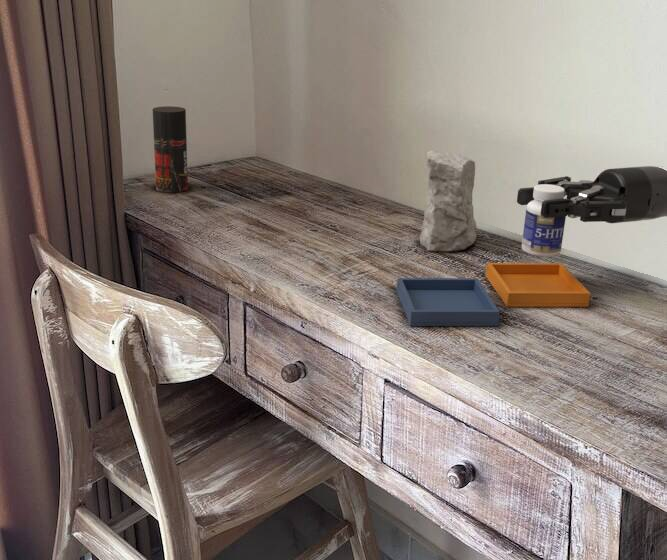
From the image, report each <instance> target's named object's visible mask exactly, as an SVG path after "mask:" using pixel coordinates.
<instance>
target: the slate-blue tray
mask: <svg viewBox="0 0 667 560" xmlns="http://www.w3.org/2000/svg"><path fill="white" fill-rule="evenodd" d="M396 294H397V296H398V299H399V301H400V305H401V306H402V309H403V312H404V314H405V316H406V318H407V321H408V324H409V327H498V326H499V322H500V315H501V311H500V310H499V308H498V307H497V305H496V304H495V302H494V300H493V299H492V297H491V295H490V294H489V293H488V291H487V290H486V288H485V287H484V285H483V284H482V282H481V281H480V280H479V278H474V277H472V278H471V277H468V278H467V277H465V278H463V277H462V278H461V277H455V278H454V277H452V278H451V277H397V278H396Z"/></svg>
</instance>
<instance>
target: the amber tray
mask: <svg viewBox="0 0 667 560" xmlns="http://www.w3.org/2000/svg"><path fill="white" fill-rule="evenodd" d="M484 275H485V277H486V279H487V280H488V281H489V283H490V284H491V286H492V288H493V289H494V290H495V292H496V293H497V295H498V296H499V298H500V299H501V300H502V302H503V303H504V305H505V306H506V307H508V308H509V307H511V308H515V307H517V308H518V307H520V308H522V307H524V308H527V307H529V308H531V307H533V308H537V307H539V308H544V307H545V308H553V307H555V308H563V307H564V308H565V307H566V308H567V307H568V308H569V307H570V308H571V307H572V308H576V307H577V308H587V307H589V305H590V300H591V299H590V298H591V292H590V290H588V289H587V287H585V286H584V285H583V284H582V283H581V282H580V281H579V280H578V278H577V277H576V276H575V275H574V274H573V273H572V272H571V271H570V270H569V269H568V268H567V267H566V266H565V265H564V264H563V263H561V262H556V263H554V262H553V263H552V262H551V263H549V262H545V263H544V262H541V263H540V262H486V268H485V274H484Z"/></svg>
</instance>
